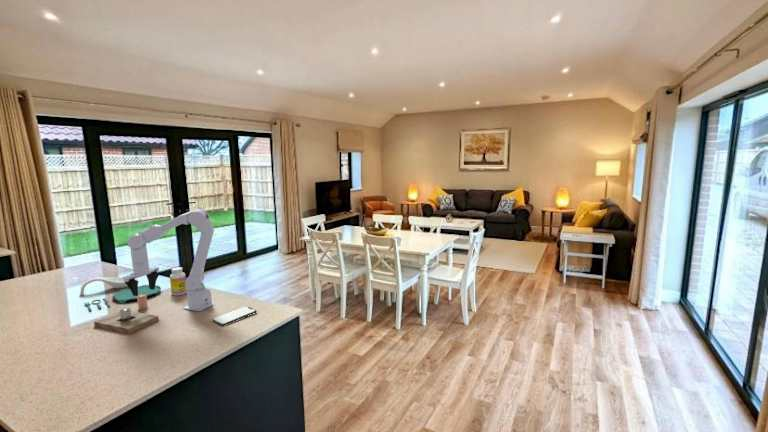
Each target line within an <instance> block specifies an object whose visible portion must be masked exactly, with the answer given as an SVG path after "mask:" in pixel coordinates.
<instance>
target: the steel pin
mask: <svg viewBox="0 0 768 432" xmlns="http://www.w3.org/2000/svg"><path fill="white" fill-rule="evenodd" d="M119 312H120V317H121V322H127V321H129V320H131V308H130V307H124V308H122V309H120V310H119Z"/></svg>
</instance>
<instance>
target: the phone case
mask: <svg viewBox="0 0 768 432" xmlns="http://www.w3.org/2000/svg"><path fill="white" fill-rule="evenodd" d="M256 312H257V310H256V309H255V308H253V307H250V306H247V305H246V306H243V307H242V306H241V307H240V308H237V309H234V310H232V311H229V312H227V313H224V314H221V315H218V316H217V317H214V318H212V320H211V321H212V322H213V323H214V322H215V323H214V324H216V323H217V324H216V325H218V324H219V325H218V326H220V325H221V326H220V327H225V326H224V325H226V324H228V325H230V324H229V323H231V322H233V321H236V320H238V319H241V318H243V317H246V316H248V315H250V314H253V313H256ZM256 314H257V313H256ZM246 318H247V317H246ZM241 320H242V319H241ZM236 322H237V321H236ZM233 323H234V322H233ZM231 324H232V323H231ZM226 326H227V325H226Z"/></svg>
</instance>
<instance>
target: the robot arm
mask: <svg viewBox="0 0 768 432" xmlns="http://www.w3.org/2000/svg"><path fill="white" fill-rule="evenodd" d="M180 225H187V226H188V225H191V226H192V227H194V228H196V230H198V232H199V233H200V236H199V240H198V245H197V247H196V248H197V249H196V251H195V254H194V255H195V256H194V260H193V264H192V265H191V266H192V267H191V269H190V272H189V275H188V277H187V278H186V281H185V286H186V289H187V292H186V296H187V297H186V298H187V305H186V306H184V307H183V309H184V310H189V311H196V312H202V311H204V310H205V309H208V308H210V307H212V306H214V303H213V302H212V301H213V299H212V293H211V290H210V289H208V288H206V287H205V284H204V282H203V281H204V280H205V274H204V273H205V272H204V270H205V267H206V266H205V265H206V261H207V258H208V254H209V249H210V246H211V243H212V239H213V237H214V236H213V235H214V232H215V229H214V226H213V223H212V221H211V217H210V215H209V213H208V212H207V211H206V210H204V209H202V208H196V209H194V210H191V211H188V212H185V213H183V214H180V215H178V216H177V217H174V218H172V219H170V220H169V221H167V222H165V223H163V224H161V225H160V224H150V225H148V227H147V228H145V229H143V230H138V231H137V233H135V234H133V235H131V236H130V237H129V238H128V239H127V245H128V247H129V248H130V257H131V265H132V272H131V273H129V274H127V275H125V276H122V277H123V281H124V282H125V283H126V284H127V285H128V287H127V288H128V289H130V290H131V292H132V294H133V296H138V287H139V286H138V285H139V280H138V278H141V277H143V276H146V279H147V281H148V285H149V288H150V289H152V290H154V289H155V285H156V283H157V280H158V278H159V275H160V273H159V272H160V268H159V266H154V267H150V264H149V256H148V250H147V244H150V243H152V242H154V241H156V240H158V239H160V238H162V237H164V235H165V232H167V231H170V230H171V229H175V228H176V227H179V226H180ZM135 278H137V280H135Z"/></svg>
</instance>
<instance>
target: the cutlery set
mask: <svg viewBox="0 0 768 432" xmlns="http://www.w3.org/2000/svg"><path fill="white" fill-rule="evenodd" d="M161 289H162V288H161V286H159V285H156V284H155V289H154V290H152V289H150V288H149V284H143V285H139V286H138V295H142V294H146V297H151V296H153V295H157V294H159V293H161ZM102 300H103V301H104V304H105V305H107V308H110V307H111V306H110V304H109V301H108V300H107V299H106V298H105V297H103V298H102ZM112 300H114V301H116V302H118V303H119V304H125V303H126V302H128V301H129V302H130V301H136V300H137V296H133V294H132V292H131V290H130V288H125V289H122V290H120V291H117V292H116V293H114V294H113V295H112ZM91 303H92V304H93V305H97V308H98V309H99V310H101V309H102V306H101V305H100V303H101V299H94V300H92V301H91ZM91 303H90V302H89V301H88V302H85V303H84V307H87V309H88V311H89V313H90V312H92V308H91Z"/></svg>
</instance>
